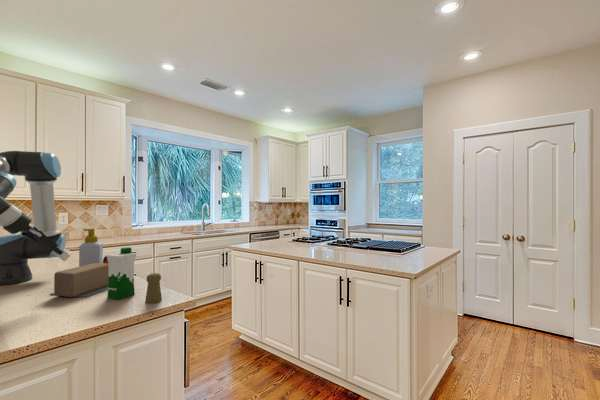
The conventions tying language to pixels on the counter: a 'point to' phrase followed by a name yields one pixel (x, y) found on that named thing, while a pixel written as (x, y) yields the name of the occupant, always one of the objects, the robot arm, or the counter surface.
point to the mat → (91, 292)
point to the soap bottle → (90, 250)
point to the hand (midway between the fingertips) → (66, 258)
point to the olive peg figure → (153, 289)
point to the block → (81, 279)
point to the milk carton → (121, 274)
